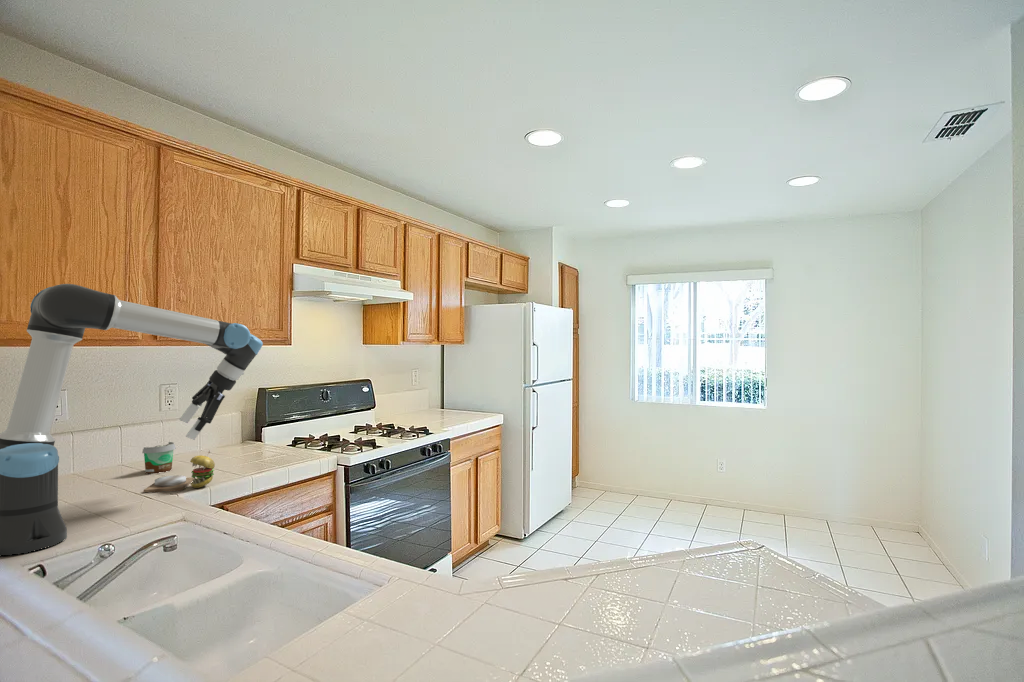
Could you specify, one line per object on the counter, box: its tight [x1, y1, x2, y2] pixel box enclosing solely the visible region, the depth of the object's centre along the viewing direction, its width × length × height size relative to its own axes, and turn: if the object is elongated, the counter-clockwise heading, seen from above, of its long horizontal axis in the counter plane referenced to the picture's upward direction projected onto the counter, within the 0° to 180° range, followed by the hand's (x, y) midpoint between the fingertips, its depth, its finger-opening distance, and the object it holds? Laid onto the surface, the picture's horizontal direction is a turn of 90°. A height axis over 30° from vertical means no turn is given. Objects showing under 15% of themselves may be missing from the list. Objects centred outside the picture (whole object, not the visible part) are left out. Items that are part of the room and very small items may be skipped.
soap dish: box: [143, 474, 194, 493], centre depth 182 cm, size 11×14×3 cm
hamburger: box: [189, 450, 216, 489], centre depth 182 cm, size 8×7×12 cm
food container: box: [142, 441, 176, 474], centre depth 203 cm, size 12×6×10 cm, turn 168°
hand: (186, 429), depth 176 cm, fingers open, 13 cm apart
